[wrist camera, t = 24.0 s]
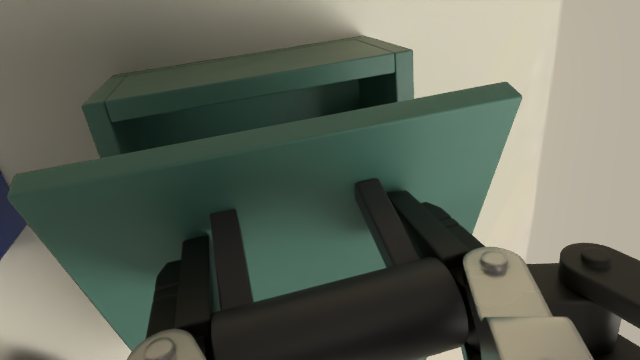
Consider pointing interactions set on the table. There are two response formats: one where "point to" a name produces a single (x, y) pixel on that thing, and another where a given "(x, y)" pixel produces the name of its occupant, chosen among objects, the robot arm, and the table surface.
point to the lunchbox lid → (285, 226)
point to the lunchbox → (246, 93)
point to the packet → (8, 219)
